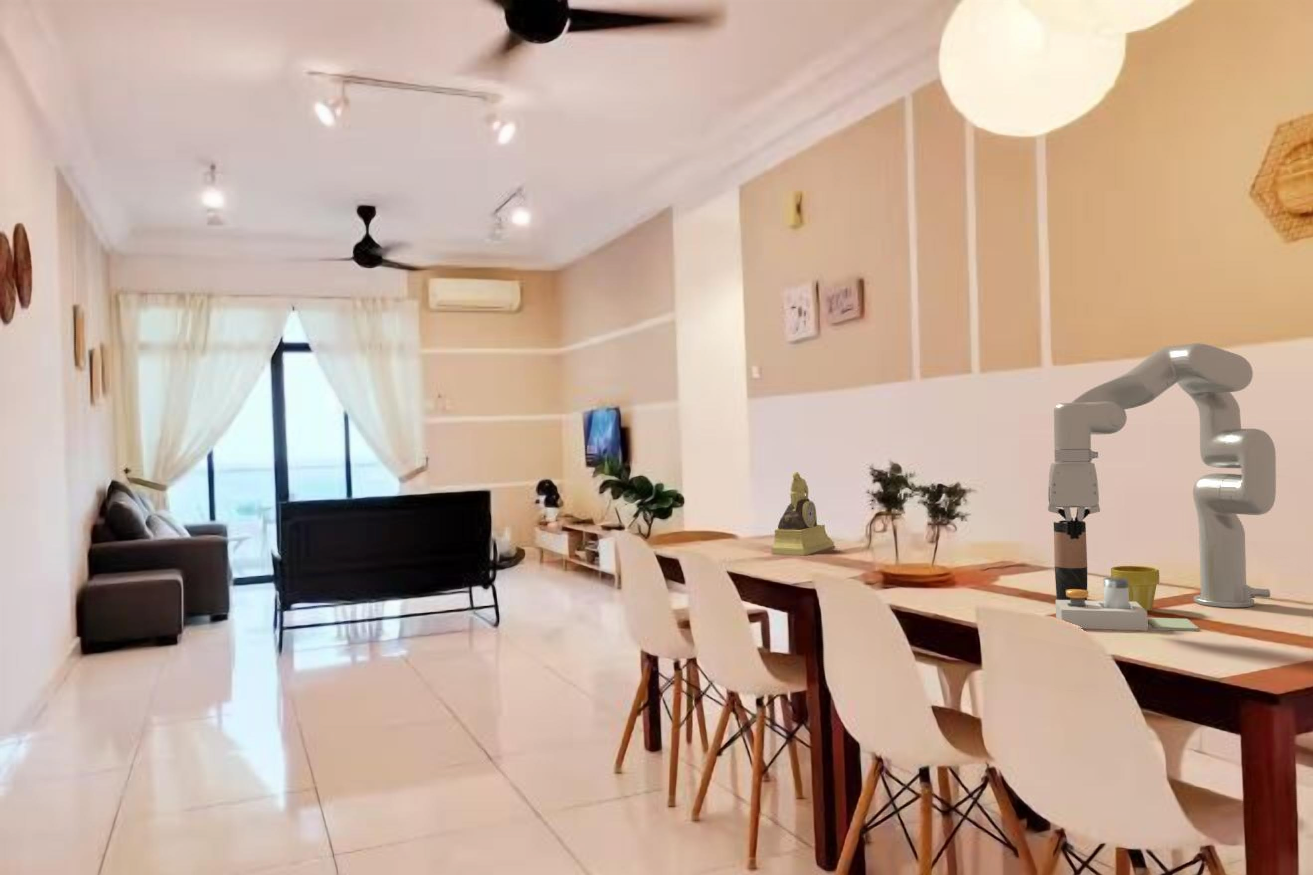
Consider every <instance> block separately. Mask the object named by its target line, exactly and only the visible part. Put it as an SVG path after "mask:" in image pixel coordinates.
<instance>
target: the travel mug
mask: <svg viewBox="0 0 1313 875" xmlns="http://www.w3.org/2000/svg"><path fill="white" fill-rule="evenodd" d="M1074 520H1075V519H1073V521H1074ZM1086 525H1087V523H1086V521H1084V520H1083V521H1082V535H1079V539H1071V538H1070V535H1067V527H1066V519H1062V520H1059V521H1058V522H1056V521H1053V552H1054V554H1053V558H1054V560H1053V561H1054V562H1053V563H1054V565H1053V566H1054V578H1055V580H1054V581H1055V592H1056V600H1070V597H1067V596H1066V590H1069V589H1081V590H1087V591H1088V554H1087V553H1088V552H1087V548H1088V547H1087V529H1086V528H1087V526H1086ZM1085 600H1087V601H1088V597H1087V598H1085Z"/></svg>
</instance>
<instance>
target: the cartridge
mask: <svg viewBox="0 0 1313 875" xmlns="http://www.w3.org/2000/svg"><path fill="white" fill-rule="evenodd" d="M1103 601H1104V608H1106V609H1129V583H1128V579H1125V578H1111V577H1104V578H1103Z"/></svg>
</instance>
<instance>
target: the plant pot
mask: <svg viewBox="0 0 1313 875" xmlns="http://www.w3.org/2000/svg"><path fill="white" fill-rule="evenodd" d="M1110 576H1111V577H1110V578H1125V579H1128V583H1129V601H1130V602H1137V603H1138V604H1139V605H1140V606H1141V607H1142V608H1144V609H1145V610H1146V611H1147V612H1149V611H1152V610H1153V607H1154V600H1155V596H1156V590H1157V585H1158V584H1159V583H1160V570H1159V568H1157V567H1153V566H1144V565H1143V566H1142V565H1119V566H1114V567H1113V566H1112V567H1111V568H1110Z"/></svg>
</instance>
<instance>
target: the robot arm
mask: <svg viewBox="0 0 1313 875" xmlns="http://www.w3.org/2000/svg"><path fill="white" fill-rule="evenodd" d="M1253 373H1254V371H1253V368H1252V365H1251V363H1250V362H1249V360H1247V359H1246V358H1245V357H1243V356H1242V355H1239V354H1238V353H1234V352H1230V351H1228V350H1226V349H1222V348H1219V347H1216V346H1212V345H1210V344H1205V343H1199V342H1198V343H1186V344H1179V345H1178V344H1177V345H1170V346H1165V347H1163V348H1160V349H1158V350H1156V351H1155V352H1154V353H1152V354H1151V355H1150V356H1148V357H1147V358H1145V359H1144V360H1142V361H1141V362H1140V363H1138V364H1137V365H1136V366H1134V368H1132V369H1130V370H1129V371H1127V373H1124V374H1122V375H1120V376H1117V377H1115V378H1113V379H1110V380H1109V381H1106V382H1104V383H1102V384H1099V385H1097V386H1095V387H1093V388H1090V389H1089V390H1087V391H1085V392H1083V393H1082V394H1081V395H1079V396H1077V397H1076V398H1075V399H1074V400H1072V401H1071V402H1063V403H1062V402H1061V403H1058V404H1056V405H1055V406H1054V409H1053V433H1054V434H1053V436H1054V437H1053V440H1054V443H1053V446H1054V447H1053V448H1054V463H1050V467H1049V474H1048V489H1047V490H1048V491H1047V492H1048V493H1047V494H1048V497H1047V498H1048V502H1049V503H1048V507H1047V511H1048V512H1050V513H1054V514H1059V516H1061V517H1062V518H1063V520H1066V527H1067V535H1070V538H1071V539H1079V535H1082V521H1084V519H1085V518H1087V516H1089V515H1090V514H1097V513H1099V512H1101V508H1100V505H1099V502H1100V496H1099V495H1100V494H1099V483H1098V475H1097V468H1096V466H1095V463H1094V462H1092V460H1093V459H1097V458H1099V452H1098V451H1094V450H1092V449H1091V448H1092V446H1091V444H1092V441H1091V440H1092V439H1091V438H1092V437H1091V436H1092V435H1111V434H1116V433H1118V432H1119V431H1121V430H1122V429H1123V428H1124V426H1126V422H1127V420H1128V419H1127V418H1128V417H1127V413H1126V410H1129V409H1134V408H1137V407H1141V406H1144V405H1147V404H1149V403H1151V402H1153V401H1155V400H1156V399H1157V398H1158V397H1159V396H1161V395H1162V394H1163V393H1164V392H1166V391H1167V390H1169V389H1170V388H1171V387H1172V386H1174V385H1175V384H1178V386H1179V387H1180V388H1181V389H1182V390H1183V391H1184V393H1186V394H1187V395H1188V396H1189V397H1190V398H1191V399H1192V400H1193V401H1194V403H1195V405H1196V406H1197V409H1198V414H1199V415H1198V416H1199V444H1200V445H1199V451H1200V452H1199V453H1200V458H1201V461H1202V462H1203V463H1204V464H1205V465H1206V466H1208V467H1211V468H1218V469H1241V473H1240V474H1239V473H1238V474H1237V473H1209V474H1205V475H1202V476H1200V477H1199V478H1198V479H1197V480H1196V481H1195V483H1194V484H1193V489H1192V495H1193V496H1192V497H1193V501H1194V506H1195V509H1196V514H1197V520H1198V535H1199V536H1198V543H1199V574H1200V575H1199V576H1200V577H1199V579H1200V594H1196V595H1194V596H1193V602H1195V603H1196V604H1199V605H1204V606H1210V607H1211V606H1212V607H1218V608H1219V607H1220V608H1248V607H1253V606H1255V598H1256V597H1259V598H1270V596H1271V591H1270V589H1269V588H1260V587H1259V588H1257V587H1256V588H1255V587H1251V586H1250V585H1249V584H1247V563H1246V561H1247V559H1246V533H1245V529H1244V525H1243V523H1242V521H1241V519H1240V518H1239V517H1238V515H1246V516H1261V515H1265V514H1268V513H1269V512H1270V511H1271V510H1272V508H1273V506H1274V504H1275V500H1276V496H1277V495H1276V493H1277V492H1276V488H1277V480H1276V478H1277V473H1276V472H1277V471H1276V470H1277V468H1276V466H1277V463H1276V461H1277V459H1276V455H1277V454H1276V447H1275V444H1274V442H1273V438H1272V437H1271V436H1270V435H1269V433H1267V432H1266V431H1264V430H1262V429H1258V428H1242V423H1241V410H1240V405H1239V403H1238V402H1237V399H1236V397H1234V395H1233V394H1232V393H1236V392H1239V391H1242V390H1244V389H1246V388H1248V386H1249V385H1250V384H1251V382H1252V379H1253V377H1254V374H1253ZM1071 508H1076V515H1075V518H1073V517H1072V512H1071ZM1073 520H1074V521H1073Z"/></svg>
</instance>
